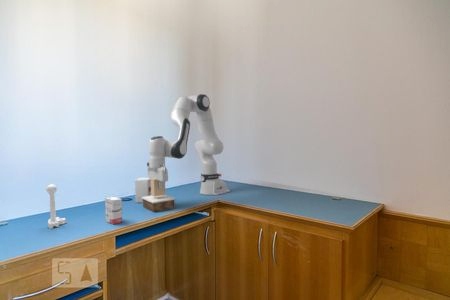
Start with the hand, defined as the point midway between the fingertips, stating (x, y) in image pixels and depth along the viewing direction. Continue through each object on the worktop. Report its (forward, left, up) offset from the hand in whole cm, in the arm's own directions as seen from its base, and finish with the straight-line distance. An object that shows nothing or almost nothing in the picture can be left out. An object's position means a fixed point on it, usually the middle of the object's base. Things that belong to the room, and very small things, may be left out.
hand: (158, 187), depth 171 cm
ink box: (+29, +10, -12) cm, 33 cm away
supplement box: (0, -20, -12) cm, 23 cm away
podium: (0, 0, -12) cm, 12 cm away
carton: (0, 0, -5) cm, 5 cm away
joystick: (+52, -4, -12) cm, 54 cm away
